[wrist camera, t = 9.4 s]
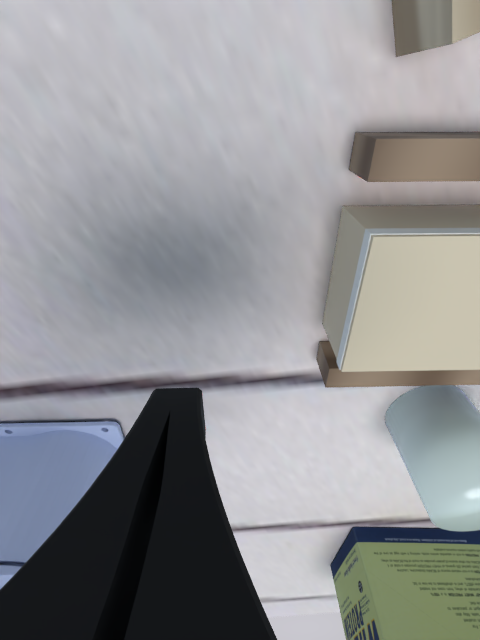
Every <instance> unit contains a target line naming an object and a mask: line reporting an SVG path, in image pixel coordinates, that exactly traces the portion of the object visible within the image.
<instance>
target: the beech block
mask: <svg viewBox="0 0 480 640" xmlns="http://www.w3.org/2000/svg"><path fill="white" fill-rule="evenodd" d="M392 11H393V24H394V36H395V49H396V57H398V56H402V55H406V54H411V53H415V52H419V51H423V50H428V49H432V48H436V47H441V46H445V45H449V44H453V43H455V42H458V41H460V40H462V39H465V38H467V37H469V36H472V35H474V34H476V33H479V32H480V0H392Z"/></svg>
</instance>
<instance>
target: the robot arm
mask: <svg viewBox="0 0 480 640" xmlns="http://www.w3.org/2000/svg"><path fill="white" fill-rule="evenodd" d="M0 640H277V638H276V636H275V634H274V631H273V629H272V627H271V625H270V622H269V620H268V618H267V616H266V613H265V611H264V609H263V607H262V604H261V602H260V600H259V597H258V595H257V592H256V590H255V588H254V585H253V583H252V580H251V578H250V575H249V573H248V571H247V568H246V566H245V563H244V561H243V558H242V556H241V554H240V551H239V548H238V546H237V543H236V540H235V538H234V535H233V532H232V529H231V527H230V524H229V521H228V518H227V515H226V512H225V509H224V506H223V503H222V500H221V497H220V494H219V491H218V487H217V484H216V480H215V477H214V474H213V470H212V466H211V462H210V458H209V454H208V449H207V445H206V440H205V420H204V409H203V399H202V391H201V390H200V389H199V388H166V389H155V390H154V391H153V392H152V394H151V396H150V398H149V400H148V401H147V403H146V405H145V407H144V408H143V410H142V412H141V413H140V415H139V417H138V418H137V420H136V422H135V423H134V425H133V426H132V428H131V430H130V431H129V433H128V434H127V436H126V437H125V439H124V437H123V434H122V431H121V428H120V425H119V424H118V423H117V422H113V421H109V422H59V423H9V424H0Z"/></svg>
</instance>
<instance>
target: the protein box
mask: <svg viewBox="0 0 480 640" xmlns="http://www.w3.org/2000/svg"><path fill="white" fill-rule="evenodd" d="M331 570H332V574H333V579H334V584H335V589H336V594H337V598H338V602H339V607H340V613H341V617H342V622H343V627H344V632H345V636H346V640H480V530H476V531H449V530H444V529H421V528H378V527H353V528H352V530H351V532H350V534H349V535H348V537H347V539H346V540H345V542H344V544H343V545H342V547H341V549H340V550H339V552H338V554H337V555H336V557H335V559H334V561H333V562H332V564H331Z"/></svg>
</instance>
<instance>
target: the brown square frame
mask: <svg viewBox="0 0 480 640" xmlns="http://www.w3.org/2000/svg"><path fill="white" fill-rule="evenodd" d="M349 170H350V171H351V172H353V173H355V174H356V175H358V176H359V177H361V178H362V179H364V180H366V181H367V182H411V181H480V132H355V138H354V143H353V149H352V155H351V161H350V167H349ZM336 361H337V359H336V356H335V354H334V351H333V349H332V346H331V344H330V341H320V342H319V348H318V354H317V362H318V365H319V369H320V372H321V375H322V378H323V381H324V384H325V387H375V386H430V385H480V370H428V371H364V372H342V371H341V370H339V367H338V365H337V362H336Z"/></svg>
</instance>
